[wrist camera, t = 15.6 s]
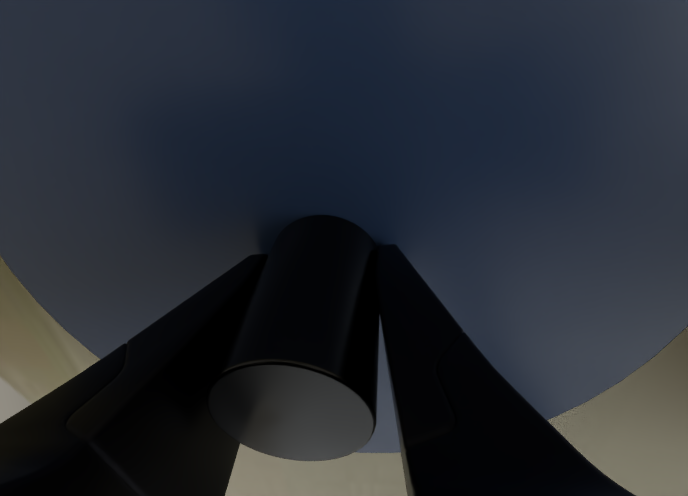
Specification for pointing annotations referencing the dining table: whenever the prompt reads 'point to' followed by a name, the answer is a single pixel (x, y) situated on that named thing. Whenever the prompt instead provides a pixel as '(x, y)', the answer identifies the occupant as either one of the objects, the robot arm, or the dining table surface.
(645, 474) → the dining table surface
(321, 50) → the lid
